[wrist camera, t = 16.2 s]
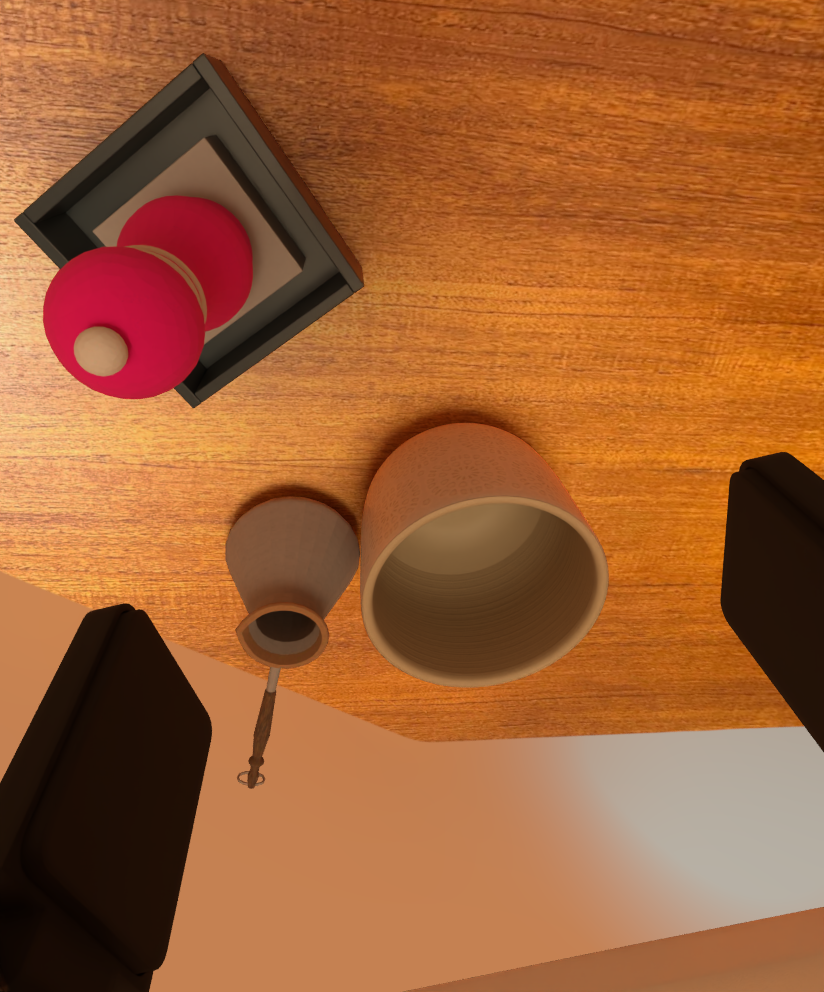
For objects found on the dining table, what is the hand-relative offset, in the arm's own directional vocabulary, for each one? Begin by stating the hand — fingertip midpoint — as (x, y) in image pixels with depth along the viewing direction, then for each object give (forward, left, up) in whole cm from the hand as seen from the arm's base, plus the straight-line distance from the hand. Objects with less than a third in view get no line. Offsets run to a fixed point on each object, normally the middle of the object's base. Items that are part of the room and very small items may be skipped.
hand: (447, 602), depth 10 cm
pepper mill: (+9, -5, -35) cm, 36 cm away
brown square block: (+9, -5, -39) cm, 40 cm away
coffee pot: (+24, +21, -40) cm, 51 cm away
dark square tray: (+9, -5, -39) cm, 41 cm away
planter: (+6, +22, -39) cm, 46 cm away
